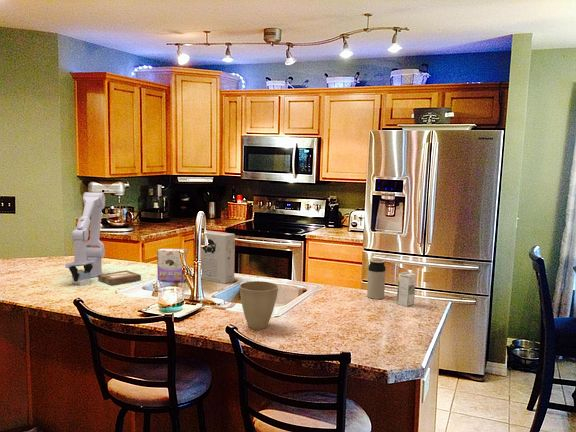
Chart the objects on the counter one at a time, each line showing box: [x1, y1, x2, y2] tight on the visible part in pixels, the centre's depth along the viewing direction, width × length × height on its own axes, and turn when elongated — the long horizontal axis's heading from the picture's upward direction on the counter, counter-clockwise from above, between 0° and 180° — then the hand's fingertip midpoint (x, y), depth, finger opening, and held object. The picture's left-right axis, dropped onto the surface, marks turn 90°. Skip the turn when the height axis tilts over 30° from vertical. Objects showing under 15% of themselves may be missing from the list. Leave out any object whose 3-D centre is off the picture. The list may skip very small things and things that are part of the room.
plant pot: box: [239, 280, 279, 330], centre depth 196 cm, size 15×15×16 cm
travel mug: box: [366, 258, 387, 300], centre depth 242 cm, size 8×8×18 cm
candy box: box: [156, 248, 187, 283], centre depth 263 cm, size 14×6×16 cm, turn 84°
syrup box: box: [396, 271, 417, 307], centre depth 231 cm, size 6×6×14 cm
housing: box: [71, 269, 91, 287], centre depth 253 cm, size 9×5×6 cm, turn 47°
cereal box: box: [193, 229, 236, 284], centre depth 268 cm, size 22×8×25 cm, turn 58°
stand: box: [97, 270, 142, 286], centre depth 261 cm, size 14×16×3 cm
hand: (81, 280), depth 253 cm, fingers closed on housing, 5 cm apart
